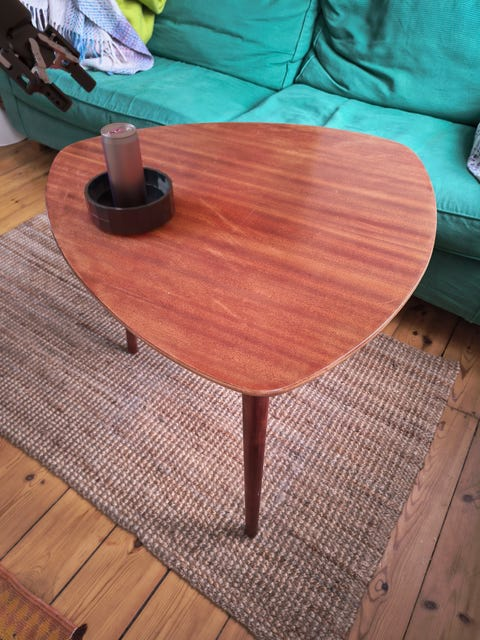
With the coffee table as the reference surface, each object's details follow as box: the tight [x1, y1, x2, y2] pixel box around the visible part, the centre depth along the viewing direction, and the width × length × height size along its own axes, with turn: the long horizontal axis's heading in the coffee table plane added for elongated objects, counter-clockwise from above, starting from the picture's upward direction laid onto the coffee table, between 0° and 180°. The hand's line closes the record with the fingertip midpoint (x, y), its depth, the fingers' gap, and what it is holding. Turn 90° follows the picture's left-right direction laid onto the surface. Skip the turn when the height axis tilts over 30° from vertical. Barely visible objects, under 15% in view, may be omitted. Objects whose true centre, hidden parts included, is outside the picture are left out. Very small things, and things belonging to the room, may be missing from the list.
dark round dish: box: [83, 166, 176, 236], centre depth 84 cm, size 15×15×6 cm
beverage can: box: [100, 122, 148, 208], centre depth 80 cm, size 6×6×15 cm
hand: (81, 97), depth 72 cm, fingers open, 8 cm apart
